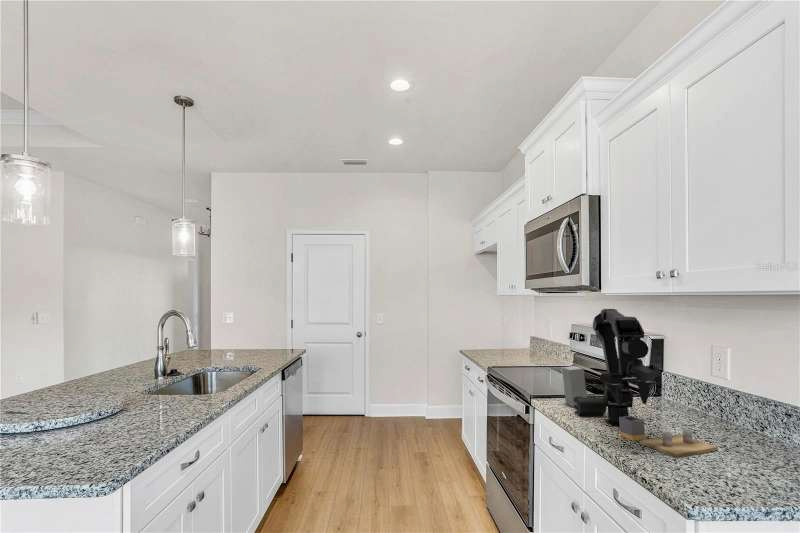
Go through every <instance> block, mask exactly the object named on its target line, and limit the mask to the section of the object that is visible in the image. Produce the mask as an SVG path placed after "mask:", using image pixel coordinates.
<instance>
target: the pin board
mask: <svg viewBox="0 0 800 533" xmlns="http://www.w3.org/2000/svg"><path fill="white" fill-rule="evenodd" d="M681 433H682V434H681ZM681 433H680V434H672V433H671V432H668V431H663V432H661V436H658V437H652V438H645V439H642V440H639V442H640V444H641V445H642V446H645V445H646V447H648V448H650V447H651V449H653V450H655V451H658V452H661V453H663V454H665V453H666V454H665V455H667V454H668V456H670V457H672V456H673V458H675V459H677V458H678V459H679V458H682V457H683V458H684V457H688V456H694V455H695V454H696V455H700V453H702V454H707V453H711V452H710V451H713V452H717V451H716V450H718V451H719V448H718V446H715V445H713V444H710V443H706V442H704V441H702V440H698V439H695V438H693V431H692V430H691V429H689V428H684V429H683V428H682V432H681ZM706 452H707V453H706Z"/></svg>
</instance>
